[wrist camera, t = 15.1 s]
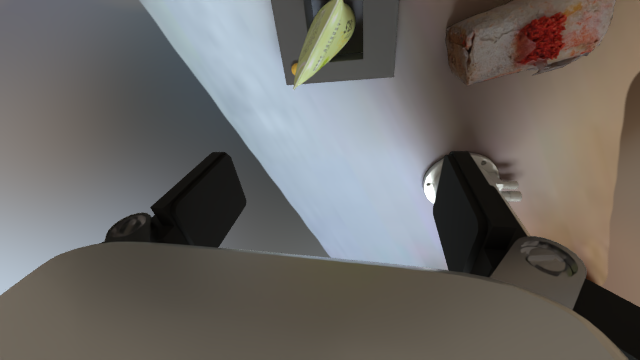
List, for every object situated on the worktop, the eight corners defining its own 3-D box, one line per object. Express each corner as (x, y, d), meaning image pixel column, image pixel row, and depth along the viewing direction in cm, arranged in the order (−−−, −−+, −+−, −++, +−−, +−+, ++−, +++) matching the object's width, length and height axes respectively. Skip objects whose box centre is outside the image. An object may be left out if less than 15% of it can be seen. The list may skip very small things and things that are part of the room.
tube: (358, 44, 35) (350, 81, 20) (324, 51, 36) (291, 90, 21) (354, -4, 32) (341, -5, 16) (316, 5, 33) (272, 11, 17)
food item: (574, -29, 27) (655, -39, 20) (562, 46, 31) (626, 62, 24) (442, 22, 32) (466, 30, 24) (447, 81, 36) (469, 104, 28)
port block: (397, -50, 28) (403, -59, 24) (391, 68, 36) (394, 77, 32) (277, -30, 31) (263, -34, 27) (295, 76, 39) (286, 85, 35)
